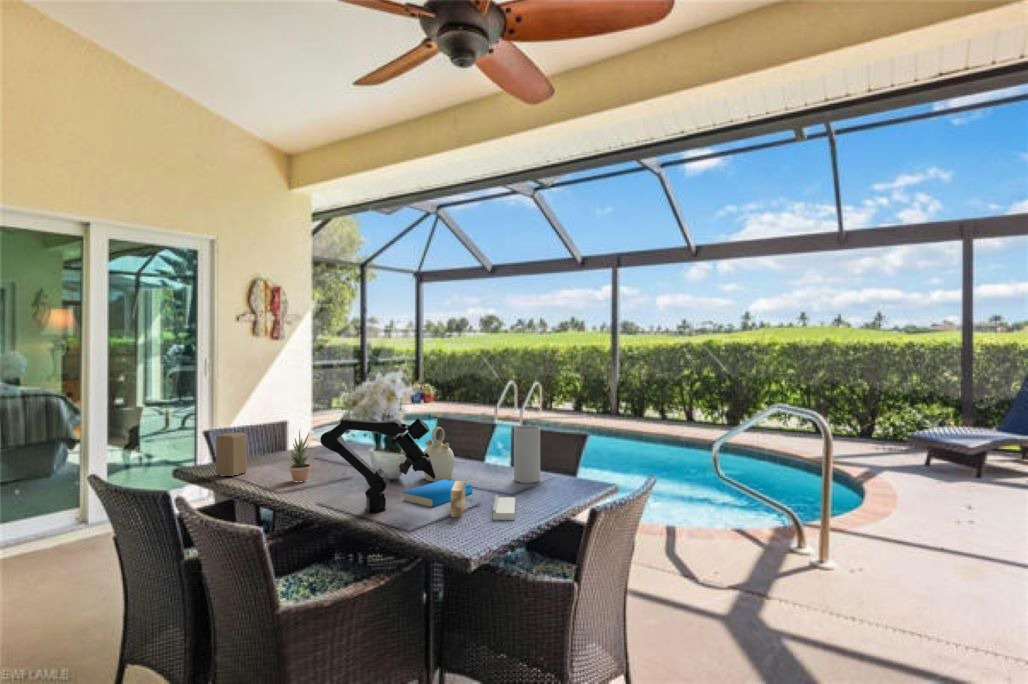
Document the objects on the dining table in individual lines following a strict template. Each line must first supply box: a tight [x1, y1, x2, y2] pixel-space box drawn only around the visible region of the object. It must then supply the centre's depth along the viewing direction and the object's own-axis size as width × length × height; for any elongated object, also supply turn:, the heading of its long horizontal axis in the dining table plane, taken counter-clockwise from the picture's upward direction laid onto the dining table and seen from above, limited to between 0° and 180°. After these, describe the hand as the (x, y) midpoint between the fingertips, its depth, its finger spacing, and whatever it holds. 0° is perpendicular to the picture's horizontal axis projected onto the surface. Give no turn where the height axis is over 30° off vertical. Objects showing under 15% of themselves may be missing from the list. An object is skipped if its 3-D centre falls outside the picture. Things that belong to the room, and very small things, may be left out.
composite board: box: [492, 494, 516, 521], centre depth 214 cm, size 8×20×4 cm, turn 179°
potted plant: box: [289, 428, 312, 482], centre depth 258 cm, size 10×10×25 cm
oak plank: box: [450, 480, 466, 518], centre depth 214 cm, size 4×14×10 cm, turn 179°
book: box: [402, 479, 473, 508], centre depth 234 cm, size 17×4×25 cm
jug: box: [423, 426, 455, 483], centre depth 263 cm, size 15×16×25 cm
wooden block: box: [215, 431, 248, 477], centre depth 270 cm, size 10×10×20 cm
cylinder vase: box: [513, 425, 541, 484], centre depth 261 cm, size 12×12×25 cm
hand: (434, 478), depth 214 cm, fingers closed
